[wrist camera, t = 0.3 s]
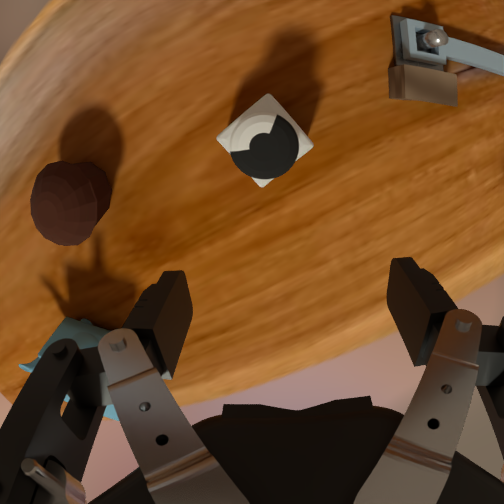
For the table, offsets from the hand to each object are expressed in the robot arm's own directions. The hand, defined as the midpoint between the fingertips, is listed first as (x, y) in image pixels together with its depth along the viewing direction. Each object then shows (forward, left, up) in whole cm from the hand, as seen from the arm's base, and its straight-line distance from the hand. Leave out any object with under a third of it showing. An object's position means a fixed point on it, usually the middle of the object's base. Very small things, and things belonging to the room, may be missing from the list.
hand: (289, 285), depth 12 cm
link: (-16, +25, -28) cm, 41 cm away
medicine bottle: (-3, -1, -29) cm, 29 cm away
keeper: (-10, +18, -29) cm, 35 cm away
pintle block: (-16, +19, -29) cm, 38 cm away
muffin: (+2, -27, -29) cm, 40 cm away
